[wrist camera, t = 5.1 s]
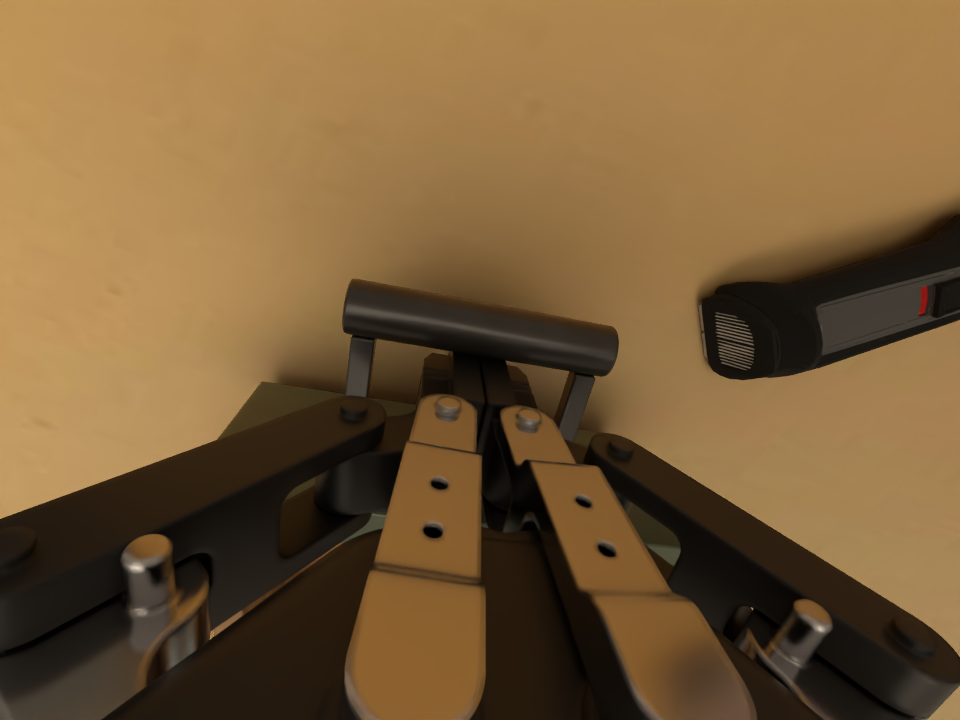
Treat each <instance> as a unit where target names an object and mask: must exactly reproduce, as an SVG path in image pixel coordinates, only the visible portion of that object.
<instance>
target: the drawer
mask: <svg viewBox="0 0 960 720" xmlns="http://www.w3.org/2000/svg"><path fill="white" fill-rule="evenodd" d="M342 327H343V331H344V332H345V333H346V334H351V335H352V337H351V342H350V351H349V360H348V369H347V378H346V387H345V394H342V393H335V392H329V391H322V390H315V389H309V388H302V387H296V386H289V385H282V384H276V383H269V382H261V383H260V385H259V386H258V387H257V389H256V390H255V391H254V393H253V394H252V395H251V396H250V398H249V399H248V400H247V402H246V403H245V404H244V406H243V407H242V408H241V409H240V411H239V412H238V413H237V415H236V416H235V417H234V418H233V420H232V421H231V422H230V424H229V425H228V426H227V428H226V429H225V430H224V431H223V433H222V434H221V435H220V437H219V438H218V439H217V440H219V439H221V438H224V437H227V436H230V435H232V434H235V433H238V432H241V431H243V430H246V429H249V428H252V427H254V426H257V425H260V424H263V423H265V422H268V421H271V420H274V419H276V418H279V417H282V416H285V415H287V414H290V413H293V412H296V411H298V410H301V409H304V408H306V407H309V406H312V405H315V404H317V403H320V402H323V401H326V400H328V399H331V398H334V397H338V396H347V395H353V396H361V397H366V398H369V393H370V385H371V378H372V370H373V363H374V356H375V348H376V341H377V339H381V340H387V341H393V342H399V343H405V344H411V345H417V346H423V347H429V348H434V349H440V350H446V351H452V352H458V353H464V354H470V355H476V356H482V357H488V358H494V359H500V360H506V361H511V362H517V363H523V364H529V365H535V366H541V367H547V368H553V369H559V370H565V371H569V374H568V377H567V380H566V383H565V387H564V390H563V393H562V396H561V399H560V402H559V405H558V409H557V412H556V415H555V418H554V422H555V423H556V425H557V427H558V429H559V431H560V433H561V435H562V437H563V439H565V440H568V441H571V442H574V443H577V444H580V445H583V446H586V447H588V446H589V443H590V440H591V438H592V437H593V436H594V435H596V434H600V433H601V432H594V431H587V430H581V429H578V427H579V425H580V422H581V419H582V416H583V413H584V410H585V407H586V404H587V401H588V398H589V396H590V393H591V390H592V387H593V384H594V381H595V377H594V376H600V377H603V376H606V375H608V374H609V373H610V371H611V370H612V368H613V366H614V364H615V361H616V358H617V353H618V346H619V339H618V334H617V331H616V329H615V328H613V327H612V326H608V325H602V324H597V323H591V322H586V321H581V320H575V319H570V318H565V317H559V316H554V315H548V314H543V313H538V312H532V311H527V310H521V309H516V308H511V307H505V306H500V305H494V304H489V303H484V302H478V301H473V300H468V299H462V298H457V297H451V296H446V295H441V294H435V293H430V292H424V291H419V290H414V289H408V288H403V287H398V286H392V285H387V284H381V283H376V282H371V281H365V280H360V279H352V280H351V282H350V283H349V286H348V289H347V293H346V297H345V302H344V309H343V318H342ZM369 399H372V400H374V401H376V402H378V403H379V404H381V405H382V406H383V407H384V409H385V410H386V417H388V416H400V415H405V414H408V413H410V412H413V411H414V410H416V405H415V404H408V403H402V402H395V401H388V400H382V399H375V398H369ZM315 479H316V477H314V478H312V479H310V480H308V481H306V482H304V483H303V484H301V485H299V486H297V487H296V488H294V489H293V490H292V491H291V492H290V493H289V494H288V495H287V497H286V498H285V500H287V499H289V498H291V497H293V496H295V495H297V494H299V493H300V492H302V491H304V490H306V489H308V488H310V487H312V486H314V485H315ZM285 500H284V501H285ZM387 512H388V510H387V511H379V512H372V515H371V519H370V520H369V522H368V523H367V524H366V525H365V526H364V527H363V528H362V529H360V530H359V531H357V532H356V533H354V534H353V535H351V536H350V537H348V538H347V539H345V540H344V541H342V542H341V543H339V544H338V545H337V546H339V545H341V544H343V543H344V542H346V541H348V540H350V539H352V538H354V537H357V536H359V535H362V534H364V533H367V532H371V531H374V530H378V529H383V527H384V523H385V519H386V515H387ZM627 516H628V517H629V519H630V521H631V523H632V524H633V526H634V528H635V529H636V531H637V533H638V535H639V536H640V538H641V540H642V542H643V543H644V544H645V545H646V546H648V547H649V548H650V549H651V550H653V551H654V552H655V553H657V554H658V555H659V556H661V557H662V558H663V559H665V560H666V561H667V562H668V563H670V564H671V565H673V566H674V565H675V563H676V561H677V559H678V557H679V555H680V551H681V548H680V543H679V541H678V539H677V537H676V536H675V535H674V533H673V532H672V531H670V530H669V529H668V528H666V527H665V526H663V525H662V524H661V523H659V522H658V521H656V520H655V519H654V518H652V517H651V516H650V515H648V514H647V513H645V512H644V511H643V510H641V509H640V508H638V507H637V506H636V505H634V504H632V506H631V508H630V511H629V513H628V515H627ZM337 546H335V547H334V548H336V547H337ZM334 548H332V549H331V550H329V551H328V552H326V553H325V554H323V555H322V556H320V557H319V558H317V559H316V560H315V561H313V562H312V563H310V564H309V565H307V566H306V567H304V568H303V569H301V570H300V571H298V572H297V573H295V574H294V575H293V576H291V577H290V578H288V579H287V580H285V581H284V582H282V583H281V584H279V585H278V586H276V587H275V588H273V589H272V590H271V591H269V592H268V593H266V594H265V595H263V596H262V597H260V598H259V599H257V600H256V601H254V602H253V603H251V604H250V605H249V606H247V607H246V608H244V609H243V610H241V611H240V612H238V613H237V614H235V615H234V616H232V617H231V618H229V619H228V620H227V621H225V622H224V623H222V624H221V625H219V626H218V627H216V628H215V629H214V634H215V636H216V635H217V634H218V633H220V632H221V631H223V630H224V629H225V628H227V627H228V626H229V625H231V624H232V623H233V622H235V621H236V620H238V619H239V618H240V617H242V616H243V615H244V614H246V613H247V612H248V611H250V610H251V609H253V608H254V607H255V606H257V605H258V604H259V603H261V602H262V601H263V600H265V599H266V598H268V597H269V596H270V595H272V594H273V593H274V592H276V591H277V590H278V589H280V588H281V587H283V586H284V585H285V584H287V583H288V582H289V581H291V580H292V579H293V578H295V577H296V576H298V575H299V574H300V573H302V572H303V571H304V570H306V569H307V568H308V567H310V566H311V565H313V564H314V563H315V562H317V561H318V560H319V559H321V558H322V557H323V556H325V555H326V554H327V553H329V552H330V551H332V550H333V549H334Z"/></svg>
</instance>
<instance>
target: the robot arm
mask: <svg viewBox="0 0 960 720" xmlns="http://www.w3.org/2000/svg"><path fill="white" fill-rule="evenodd" d="M314 477H316V479H315V485H314V486H312V487H310V488H308V489H306V490H304V491H302V492H300V493H299V494H297V495H295V496H293V497H291V498H289V499H287V500H285V498H286V497H287V495H288V494H289V493H290V492H291V491H292V490H293V489H294V488H296V487H297V486H299V485H301V484H303V483H304V482H306V481H308V480H310V479H312V478H314ZM284 500H285V501H284ZM632 504H634V505H636V506H637V507H638V508H640V509H641V510H643V511H644V512H645V513H647V514H648V515H650V516H651V517H652V518H654V519H655V520H656V521H658V522H659V523H661V524H662V525H663V526H665V527H666V528H668V529H669V530H670V531H672V532H673V533H674V535H675V536H676V537H677V539H678V541H679V543H680V548H681V551H680V555H679V557H678V559H677V561H676V563H675V565H674V566H673V565H671V564H670V563H668V562H667V561H666V560H665V559H663V558H662V557H661V556H659V555H658V554H657V553H655V552H654V551H653V550H651V549H650V548H649V547H648V546H646V545H645V544H644V543H643V542H642V540H641V538H640V536H639V535H638V533H637V531H636V529H635V528H634V526H633V524H632V523H631V521H630V519H629V517H628V516H627V515H628V513H629V511H630V508H631V506H632ZM387 510H388V512H387V515H386V519H385V523H384V527H383V529H378V530H374V531H371V532H367V533H364V534H362V535H359V536H357V537H354V538H352V539H350V540H348V541H346V542H344V543H343V544H341V545H339V546H337V545H338V544H339V543H341V542H342V541H344V540H345V539H347V538H348V537H350V536H351V535H353V534H354V533H356V532H357V531H359V530H360V529H362V528H363V527H364V526H365V525H366V524H367V523H368V522H369V520H370V519H371V515H372V512H379V511H387ZM335 546H337V547H336V548H334V547H335ZM332 548H334V549H333V550H332V551H330V552H329V553H327V554H326V555H325V556H323V557H322V558H321V559H319V560H318V561H317V562H315V563H314V564H313V565H311V566H310V567H308V568H307V569H306V570H304V571H303V572H302V573H300V574H299V575H298V576H296V577H295V578H293V579H292V580H291V581H289V582H288V583H287V584H285V585H284V586H283V587H281V588H280V589H278V590H277V591H276V592H274V593H273V594H272V595H270V596H269V597H268V598H266V599H265V600H263V601H262V602H261V603H259V604H258V605H257V606H255V607H254V608H253V609H251V610H250V611H248V612H247V613H246V614H244V615H243V616H242V617H240V618H239V619H238V620H236V621H235V622H233V623H232V624H231V625H229V626H228V627H227V628H225V629H224V630H223V631H221V632H220V633H218V634H217V635H216V636H214V637H213V638H212V639H210V640H209V638H210V631H212V630H213V629H215V628H216V627H218V626H219V625H221V624H222V623H224V622H225V621H227V620H228V619H229V618H231V617H232V616H234V615H235V614H237V613H238V612H240V611H241V610H243V609H244V608H246V607H247V606H249V605H250V604H251V603H253V602H254V601H256V600H257V599H259V598H260V597H262V596H263V595H265V594H266V593H268V592H269V591H271V590H272V589H273V588H275V587H276V586H278V585H279V584H281V583H282V582H284V581H285V580H287V579H288V578H290V577H291V576H293V575H294V574H295V573H297V572H298V571H300V570H301V569H303V568H304V567H306V566H307V565H309V564H310V563H312V562H313V561H315V560H316V559H317V558H319V557H320V556H322V555H323V554H325V553H326V552H328V551H329V550H331V549H332ZM750 607H752V608H754V609H753V611H752V609H751V608H750ZM959 686H960V657H959V655H958V654H957V653H956V652H955V650H954V649H953V648H952V647H951V646H950V645H949V644H948V643H947V642H946V641H945V640H944V639H943V638H942V637H941V636H940V635H939V634H938V633H936V632H935V631H934V630H933V629H932V628H930V627H929V626H927V625H926V624H925V623H923V622H922V621H920V620H919V619H917V618H916V617H914V616H913V615H911V614H909V613H908V612H906V611H905V610H903V609H901V608H900V607H898V606H897V605H895V604H893V603H892V602H890V601H889V600H887V599H885V598H884V597H882V596H881V595H879V594H877V593H876V592H874V591H872V590H871V589H869V588H868V587H866V586H864V585H863V584H861V583H860V582H858V581H856V580H855V579H853V578H852V577H850V576H848V575H847V574H845V573H844V572H842V571H840V570H839V569H837V568H835V567H834V566H832V565H831V564H829V563H827V562H826V561H824V560H823V559H821V558H819V557H818V556H816V555H815V554H813V553H811V552H810V551H808V550H807V549H805V548H803V547H802V546H800V545H799V544H797V543H795V542H794V541H792V540H790V539H789V538H787V537H786V536H784V535H782V534H781V533H779V532H778V531H776V530H774V529H773V528H771V527H770V526H768V525H766V524H765V523H763V522H762V521H760V520H758V519H757V518H755V517H753V516H752V515H750V514H749V513H747V512H745V511H744V510H742V509H741V508H739V507H737V506H736V505H734V504H733V503H731V502H729V501H728V500H726V499H725V498H723V497H721V496H720V495H718V494H717V493H715V492H713V491H712V490H710V489H708V488H707V487H705V486H704V485H702V484H700V483H699V482H697V481H696V480H694V479H692V478H691V477H689V476H688V475H686V474H684V473H683V472H681V471H680V470H678V469H676V468H675V467H673V466H671V465H670V464H668V463H667V462H665V461H663V460H662V459H660V458H659V457H657V456H655V455H654V454H652V453H651V452H649V451H647V450H646V449H644V448H643V447H641V446H639V445H638V444H636V443H634V442H633V441H631V440H629V439H627V438H624V437H622V436H618V435H615V434H609V433H600V434H596V435H594V436H593V437H592V438H591V440H590V443H589V446H588V447H586V446H583V445H580V444H577V443H574V442H571V441H568V440H565V439H563V437H562V435H561V433H560V431H559V429H558V427H557V425H556V423H555V422H554V420H553V419H552V418H551V417H550V416H548V415H547V414H545V413H544V412H542V411H540V410H538V408H537V406H536V403H535V400H534V397H533V394H532V391H531V388H530V386H529V382H528V379H527V377H526V375H525V374H524V373H523V372H522V371H521V370H520V369H519V368H518V367H516V366H510V365H506V361H505V360H500V359H494V358H488V357H482V356H476V355H470V354H464V353H458V352H452V351H449V354H448V355H442V354H436V353H432V354H430V355H429V356H428V357H426V358H425V359H424V364H423V370H422V375H421V381H420V387H419V392H418V398H417V404H416V410H414V411H413V412H410V413H408V414H405V415H400V416H388V417H386V410H385V409H384V407H383V406H382V405H381V404H379V403H378V402H376V401H374V400H372V399H369V398H366V397H361V396H353V395H347V396H338V397H334V398H331V399H328V400H326V401H323V402H320V403H317V404H315V405H312V406H309V407H306V408H304V409H301V410H298V411H296V412H293V413H290V414H287V415H285V416H282V417H279V418H276V419H274V420H271V421H268V422H265V423H263V424H260V425H257V426H254V427H252V428H249V429H246V430H243V431H241V432H238V433H235V434H232V435H230V436H227V437H224V438H221V439H219V440H216V441H213V442H210V443H208V444H205V445H202V446H199V447H197V448H194V449H191V450H189V451H186V452H183V453H180V454H178V455H175V456H172V457H169V458H167V459H164V460H161V461H158V462H156V463H153V464H150V465H147V466H145V467H142V468H139V469H136V470H134V471H131V472H128V473H125V474H123V475H120V476H117V477H114V478H112V479H109V480H106V481H103V482H101V483H98V484H95V485H93V486H90V487H87V488H84V489H82V490H79V491H76V492H73V493H71V494H68V495H65V496H62V497H60V498H57V499H54V500H51V501H49V502H46V503H43V504H40V505H38V506H35V507H32V508H29V509H27V510H24V511H21V512H18V513H16V514H13V515H10V516H7V517H5V518H2V519H0V720H927V719H928V718H929V717H930V716H931V715H932V714H933V713H934V712H935V711H936V710H937V709H938V708H939V707H940V706H941V705H942V704H943V702H944V701H945V700H946V699H947V698H948V697H949V696H950V695H951V694H952V693H953V692H954V691H955V690H956V689H957V688H958V687H959Z"/></svg>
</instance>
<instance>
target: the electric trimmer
mask: <svg viewBox="0 0 960 720" xmlns="http://www.w3.org/2000/svg"><path fill="white" fill-rule="evenodd" d="M699 303H700V304H702V305H698V306H700V307H698V308H700V309H699V310H700V311H699V312H700V314H699V315H700V317H701V318H700V319H701V321H699V322H701V323H700V324H702V325H700V326H701V331H704V333H702V335H701V336H703V337H702V338H704V339H702V340H703V342H702V343H704V344H703V345H705V346H704V347H703V348H705V349H703V350H705V352H703V353H705V355H706V356H705V357H706V358H707V359H708V363H709V365H710V367H711V368H712V370H713V371H714V372H716V373H717V374H719V375H721V376H723V377H726V378H729V379H739V380H747V379H755V378H763V377H768V378H772V377H782V376H790V375H794V374H798V373H801V372H805V371H809V370H812V369H816V368H820V367H823V366H826V365H829V364H832V363H835V362H838V361H841V360H844V359H847V358H849V357H852V356H855V355H858V354H861V353H864V352H867V351H870V350H873V349H876V348H879V347H882V346H885V345H888V344H891V343H894V342H897V341H900V340H902V339H905V338H908V337H911V336H914V335H917V334H920V333H923V332H926V331H929V330H932V329H935V328H938V327H941V326H944V325H947V324H949V323H952V322H955V321H958V320H960V214H959V215H956V216H954V217H953V218H952V219H951V220H950V221H949V222H948V223H947V224H946V225H945V226H944V227H943V228H942V229H941V230H940V231H939V232H938V233H937V234H936V235H935V236H934V237H933V238H932V239H931V240H930V241H927V242H924V243H921V244H918V245H914V246H911V247H908V248H904V249H901V250H898V251H895V252H891V253H888V254H885V255H881V256H878V257H875V258H871V259H868V260H865V261H862V262H858V263H855V264H852V265H848V266H845V267H842V268H839V269H835V270H832V271H829V272H825V273H822V274H819V275H815V276H812V277H809V278H806V279H802V280H799V281H796V282H792V283H789V284H778V283H768V282H737V283H732V284H727V285H723V286H720V287H719V288H718V289H717V290H716V294H715V295H714V296H711V297H708V298H706V299H704V300H703V301H702V303H701V302H699Z"/></svg>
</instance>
